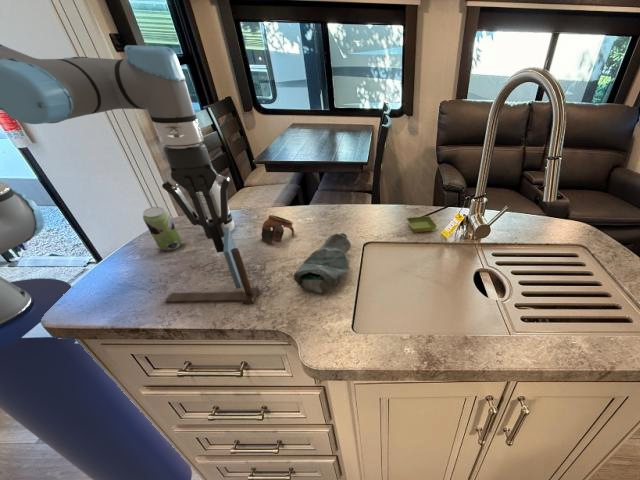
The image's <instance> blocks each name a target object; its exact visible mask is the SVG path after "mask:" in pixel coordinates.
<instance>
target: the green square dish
mask: <svg viewBox="0 0 640 480" xmlns="http://www.w3.org/2000/svg"><path fill="white" fill-rule="evenodd" d="M406 221H407V223H408V224H409V226H410V228H411V229H412V231H413V232H414V233H420V232H421V233H422V232H432V231H435V229H437V227H438V225H437V224H436V223H435V221H434V219H433V218H432V217H431V216H430V215H425V216H413V217H411V216H409V217H406Z"/></svg>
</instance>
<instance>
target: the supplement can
mask: <svg viewBox="0 0 640 480" xmlns="http://www.w3.org/2000/svg"><path fill="white" fill-rule="evenodd" d="M220 188H221V187H220V186H219V185H218V181H217V180H216V179H215V181H214V184H213V186H212V188H211V190H212V195H213V198H214V201H215V204H216V207H217V210H218V213H219V216H221V201H220ZM199 194H200V197H201V200H202V203H203V205H204V208H205V211H206V214H207V217H208V219H209V223H211V222H213V220H212V217H211V214H210V212H209V209H208V206H207V203H206V200H205V197H204V196H203V193H202V192H199ZM222 226H223V229H224V232H225V228H227V227H229V228H230V231H231V232H232V231H233V230H234V228H235V223H234V219H233V216H232V213H231V209H230V207H229V205H228V219H227V222H223V223H222Z"/></svg>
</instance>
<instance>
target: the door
mask: <svg viewBox="0 0 640 480" xmlns="http://www.w3.org/2000/svg"><path fill="white" fill-rule="evenodd" d="M223 244H224V250H223V252H222V253H223V255H224V258H225V261H226V264H227V266H228V269H229V272H230V276H231V278H232V280H233V284H234V286H235V288H236V290H238V289H242V282H241V279H240V276H239V273H238V270H237V268H236V265H235V262H234V259H233V256H232V253H231V250H232V249H234V248H237V247H236V243H235V241H234V238H233V234H232V231H230V228H229V227H227V228H225V234H224V237H223Z"/></svg>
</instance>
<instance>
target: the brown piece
mask: <svg viewBox="0 0 640 480" xmlns="http://www.w3.org/2000/svg"><path fill="white" fill-rule="evenodd" d="M293 224H294V223H293V222H292V221H291V220H289V219H287V218H284V217H281V216H277V215H273V214H269V215H268V218H267V219H266V220H265V221H264V222H263V223H262V226H261V241H262V242H263V243H265V244H268V245H273V242H275V243H281V242H282V240H283V235H284V232H285V230H284V229H285V228H287V229H289V230H290V231H291V236H292V237H294V236H295V229H294V227H293Z"/></svg>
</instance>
